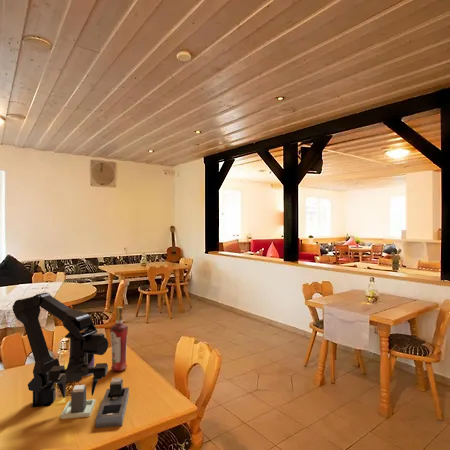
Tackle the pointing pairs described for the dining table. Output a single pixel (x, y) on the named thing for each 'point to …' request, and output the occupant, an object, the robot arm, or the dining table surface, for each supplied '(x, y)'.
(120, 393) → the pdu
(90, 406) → the tray
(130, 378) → the dining table surface
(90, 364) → the spray can
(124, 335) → the liquor
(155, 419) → the dining table surface
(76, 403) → the plug
